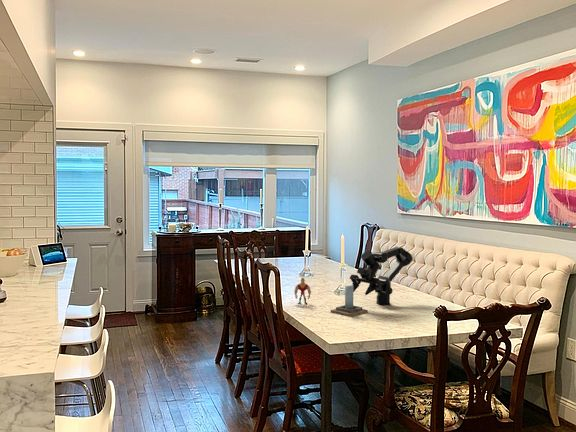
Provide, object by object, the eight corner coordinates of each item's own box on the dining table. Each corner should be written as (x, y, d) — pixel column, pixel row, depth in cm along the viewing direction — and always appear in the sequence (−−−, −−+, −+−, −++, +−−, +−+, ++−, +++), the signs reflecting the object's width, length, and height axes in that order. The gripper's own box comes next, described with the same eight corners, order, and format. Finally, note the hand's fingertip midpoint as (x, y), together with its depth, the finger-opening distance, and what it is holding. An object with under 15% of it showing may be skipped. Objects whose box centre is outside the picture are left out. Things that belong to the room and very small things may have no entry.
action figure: (294, 304, 323) (294, 278, 322) (294, 302, 326) (294, 276, 326) (310, 304, 323) (311, 278, 322) (310, 303, 326) (311, 277, 325)
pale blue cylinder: (354, 309, 305) (354, 285, 304) (352, 311, 301) (352, 286, 300) (345, 308, 306) (346, 284, 305) (344, 310, 302) (344, 286, 301)
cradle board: (347, 308, 313) (347, 303, 313) (367, 312, 303) (367, 307, 303) (330, 312, 303) (330, 307, 303) (351, 316, 293) (351, 311, 293)
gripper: (351, 260, 318) (338, 282, 311) (379, 263, 304) (366, 286, 297) (360, 272, 324) (347, 294, 317) (387, 276, 310) (375, 299, 303)
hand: (358, 293), depth 308 cm, fingers open, 9 cm apart
